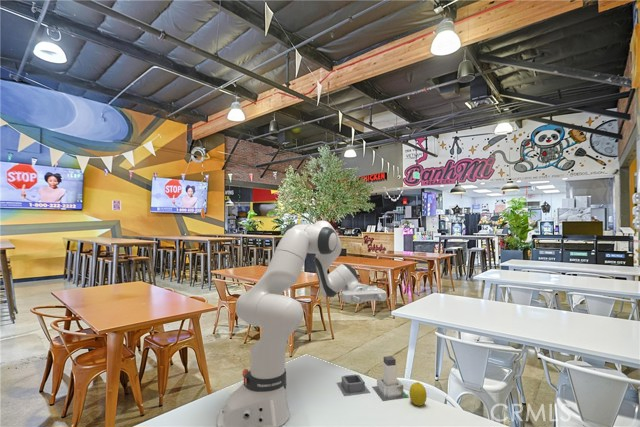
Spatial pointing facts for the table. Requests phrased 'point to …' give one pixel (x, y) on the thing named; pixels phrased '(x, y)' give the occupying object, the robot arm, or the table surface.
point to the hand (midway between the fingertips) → (370, 299)
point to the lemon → (417, 394)
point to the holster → (352, 385)
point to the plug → (389, 371)
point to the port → (390, 391)
